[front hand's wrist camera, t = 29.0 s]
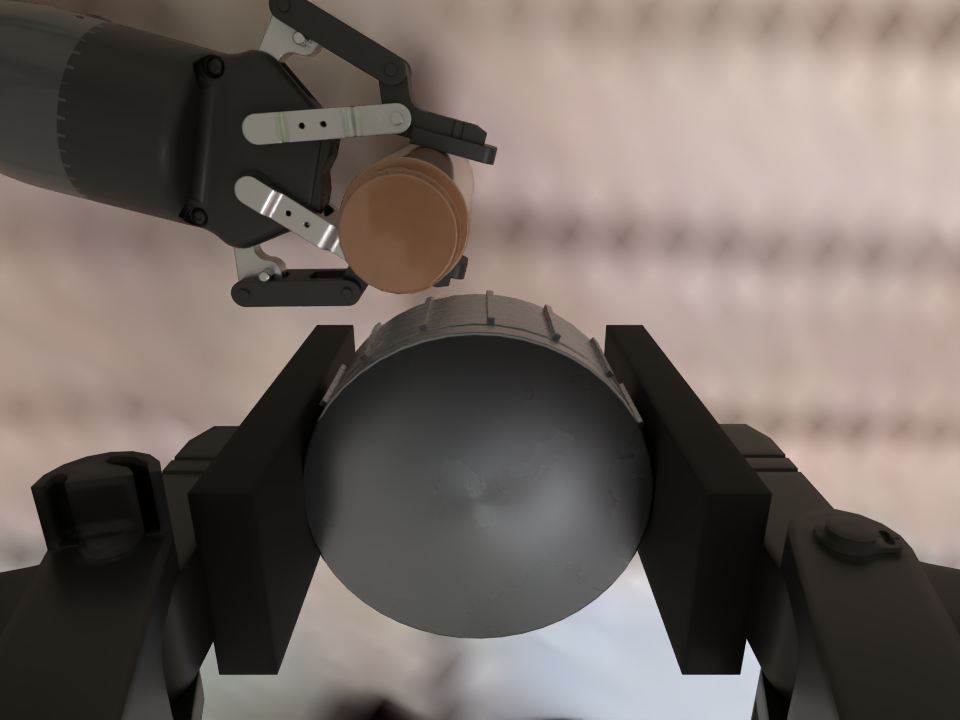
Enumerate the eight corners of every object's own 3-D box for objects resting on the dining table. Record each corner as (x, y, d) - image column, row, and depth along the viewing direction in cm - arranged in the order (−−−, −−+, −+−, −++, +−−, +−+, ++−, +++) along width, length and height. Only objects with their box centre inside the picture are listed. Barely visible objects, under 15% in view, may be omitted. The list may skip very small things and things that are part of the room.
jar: (376, 201, 37) (305, 265, 22) (411, 123, 35) (361, 134, 20) (451, 239, 37) (431, 325, 23) (488, 163, 36) (493, 203, 21)
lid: (639, 285, 11) (674, 323, 9) (621, 558, 13) (647, 641, 11) (312, 291, 11) (275, 331, 9) (342, 562, 13) (317, 645, 11)
